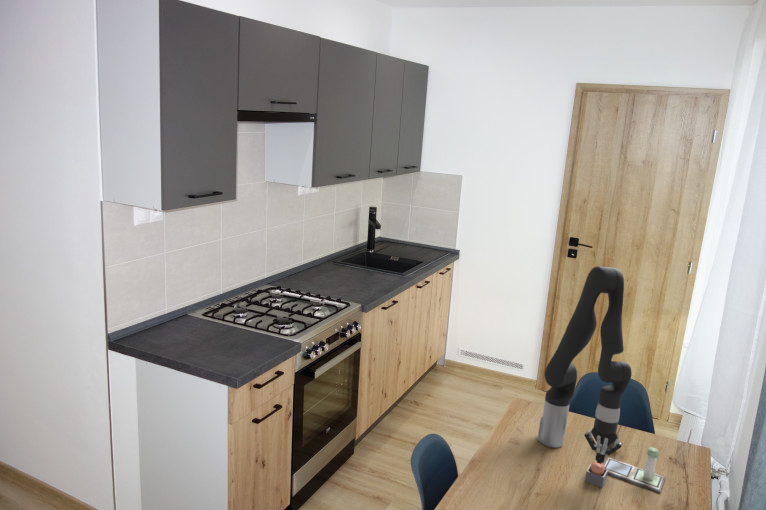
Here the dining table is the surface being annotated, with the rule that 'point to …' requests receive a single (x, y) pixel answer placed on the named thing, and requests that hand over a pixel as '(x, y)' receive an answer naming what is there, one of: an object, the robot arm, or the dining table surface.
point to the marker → (650, 463)
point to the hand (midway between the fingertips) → (599, 462)
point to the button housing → (595, 477)
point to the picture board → (633, 475)
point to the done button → (597, 468)
